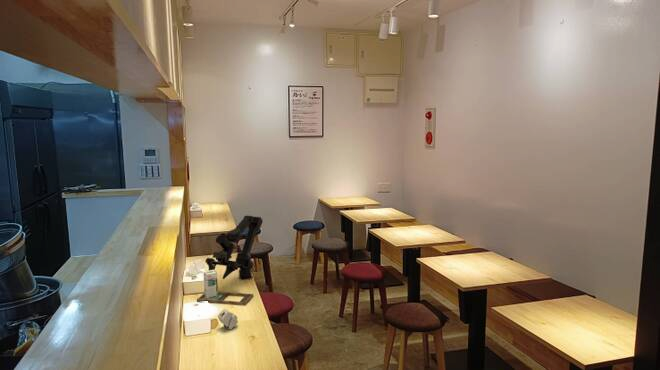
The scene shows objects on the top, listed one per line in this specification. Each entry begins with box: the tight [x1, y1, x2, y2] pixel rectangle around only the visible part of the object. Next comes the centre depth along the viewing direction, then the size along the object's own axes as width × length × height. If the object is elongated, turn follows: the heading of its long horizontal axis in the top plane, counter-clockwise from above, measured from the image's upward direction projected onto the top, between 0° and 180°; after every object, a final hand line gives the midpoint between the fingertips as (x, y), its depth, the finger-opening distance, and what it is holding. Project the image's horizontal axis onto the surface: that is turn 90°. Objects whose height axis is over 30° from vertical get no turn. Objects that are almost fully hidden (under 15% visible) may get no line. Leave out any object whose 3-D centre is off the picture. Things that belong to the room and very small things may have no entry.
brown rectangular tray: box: [196, 291, 255, 306], centre depth 233 cm, size 27×12×2 cm, turn 79°
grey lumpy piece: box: [217, 308, 239, 330], centre depth 200 cm, size 6×7×10 cm
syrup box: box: [202, 269, 219, 299], centre depth 234 cm, size 6×6×14 cm
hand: (216, 277), depth 238 cm, fingers open, 9 cm apart
